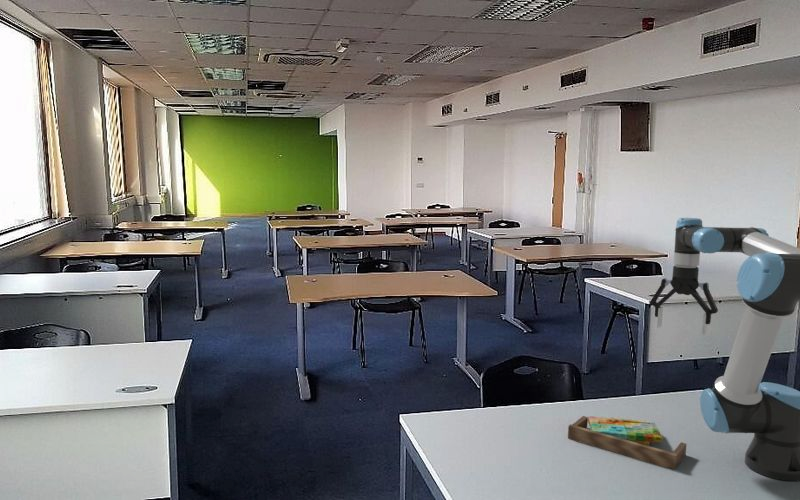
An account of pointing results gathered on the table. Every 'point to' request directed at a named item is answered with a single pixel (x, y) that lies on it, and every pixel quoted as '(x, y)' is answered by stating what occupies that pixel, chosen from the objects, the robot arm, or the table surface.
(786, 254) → the robot arm
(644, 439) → the puzzle game
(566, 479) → the table surface
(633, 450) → the frame
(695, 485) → the table surface
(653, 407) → the table surface
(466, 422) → the table surface
